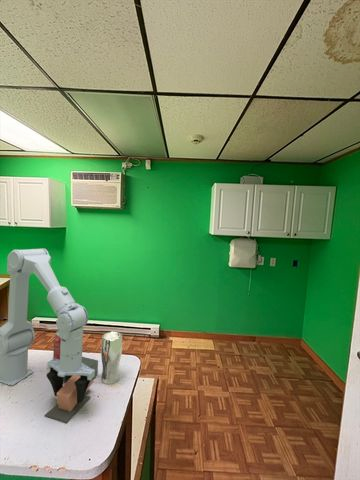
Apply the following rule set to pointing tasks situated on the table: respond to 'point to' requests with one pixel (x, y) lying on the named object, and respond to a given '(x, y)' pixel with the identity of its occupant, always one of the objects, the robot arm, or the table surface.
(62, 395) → the salmon orange block
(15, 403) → the table surface
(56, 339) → the soda can
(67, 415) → the mat
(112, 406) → the table surface
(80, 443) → the table surface
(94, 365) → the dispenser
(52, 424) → the table surface
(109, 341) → the beer glass
